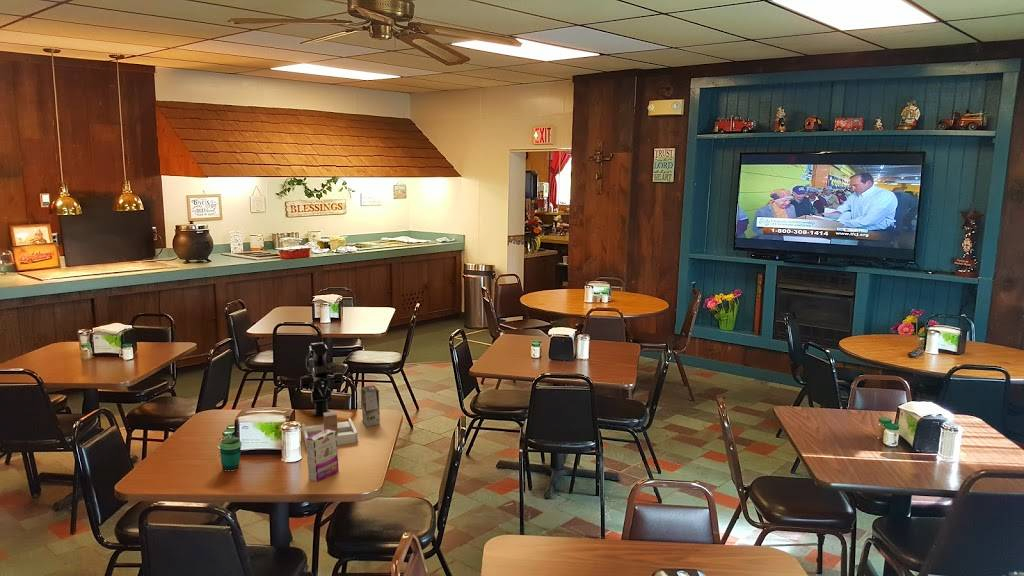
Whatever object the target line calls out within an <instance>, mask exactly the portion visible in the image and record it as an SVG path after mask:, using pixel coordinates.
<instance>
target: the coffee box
mask: <svg viewBox="0 0 1024 576" xmlns="http://www.w3.org/2000/svg"><path fill="white" fill-rule="evenodd" d="M360 393H361V397H360V398H361V414H362V422H363V423H364V424H365V426H366V427H370V426H376V425H380V424H381V416H380V395H379V394H380V390H379V389H378V388H377V387H376V386H375V385H367V386H361V387H360Z"/></svg>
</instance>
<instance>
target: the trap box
mask: <svg viewBox="0 0 1024 576" xmlns="http://www.w3.org/2000/svg"><path fill="white" fill-rule="evenodd" d="M301 426H302V427H301V429H302V436H303V439H304V444H305V445H306V438H308V437H310V436H313V435H315V434H317V433H320V432H322V431H324V424H317V425H310V426H306V425H305V423H302V424H301ZM337 429H338V435H336V440H337V446H339V445H340V446H341V445H346V444H347V445H348V444H349V445H350V444H355V443H358V442H359V438H358V431H357V429H356V427H355V424H354V422H353V420H352V419H351V417H348V418H347V421H341V422H337Z"/></svg>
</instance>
